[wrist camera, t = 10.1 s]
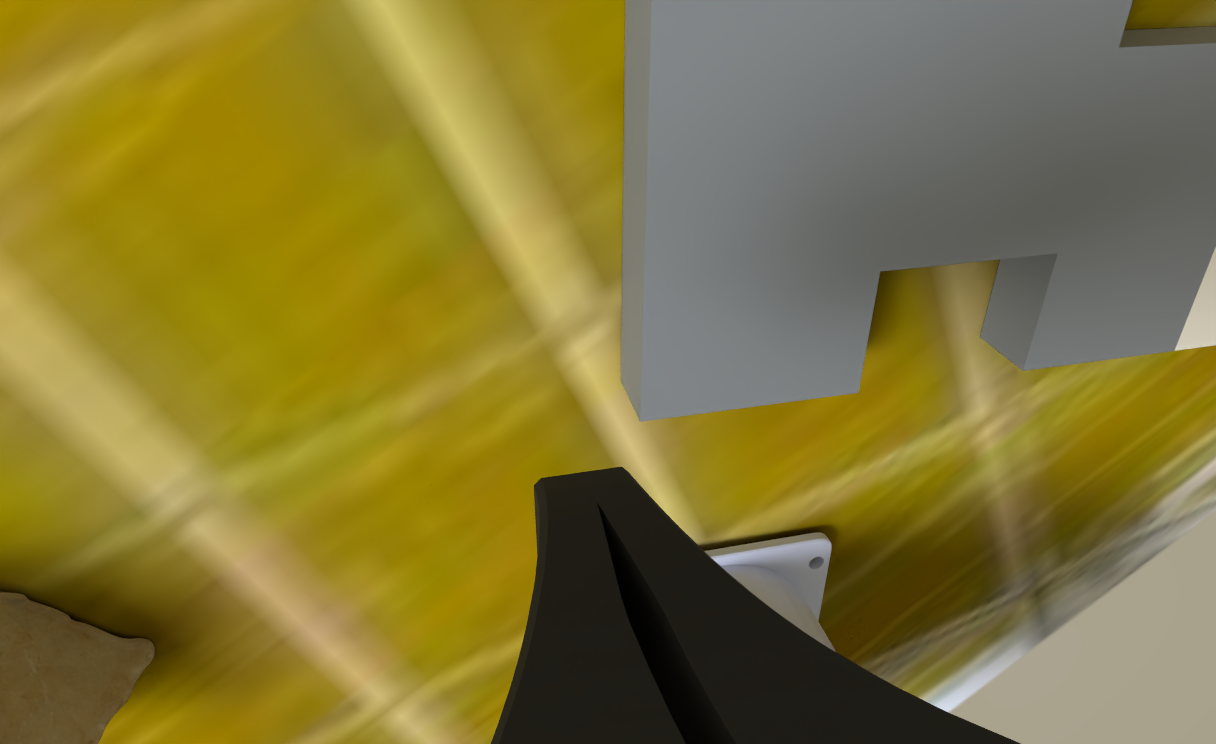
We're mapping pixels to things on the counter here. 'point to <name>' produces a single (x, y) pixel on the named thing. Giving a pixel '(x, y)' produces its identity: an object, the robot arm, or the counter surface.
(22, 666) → the rock
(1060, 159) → the plate
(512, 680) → the robot arm
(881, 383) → the counter surface
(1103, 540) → the counter surface
